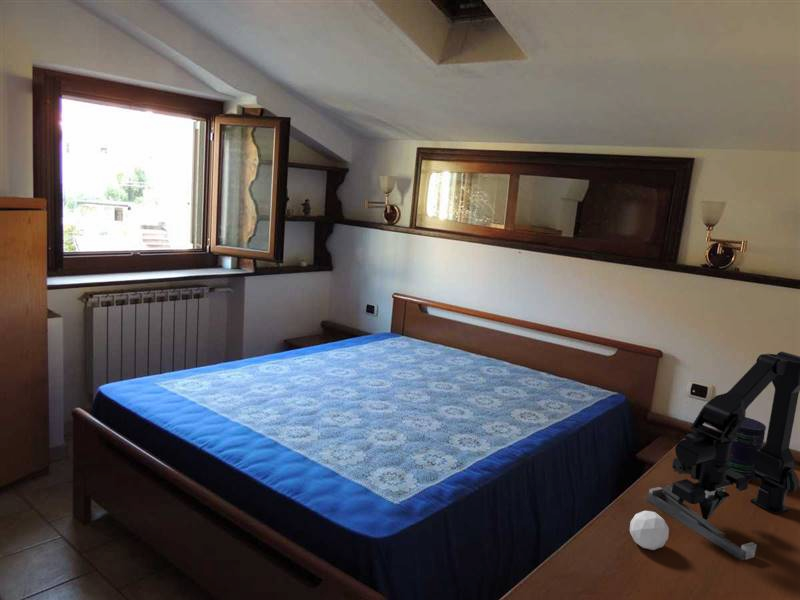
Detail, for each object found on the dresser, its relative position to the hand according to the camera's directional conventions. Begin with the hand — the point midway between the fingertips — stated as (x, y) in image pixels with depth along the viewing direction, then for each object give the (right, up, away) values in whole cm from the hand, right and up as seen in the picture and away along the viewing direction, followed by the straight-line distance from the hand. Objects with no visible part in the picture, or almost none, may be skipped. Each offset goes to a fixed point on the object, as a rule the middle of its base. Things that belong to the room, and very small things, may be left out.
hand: (704, 518), depth 146 cm
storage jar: (+23, +2, +30) cm, 38 cm away
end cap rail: (-2, -2, -1) cm, 3 cm away
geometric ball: (-18, -2, -11) cm, 21 cm away
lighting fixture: (-2, -1, +3) cm, 4 cm away
